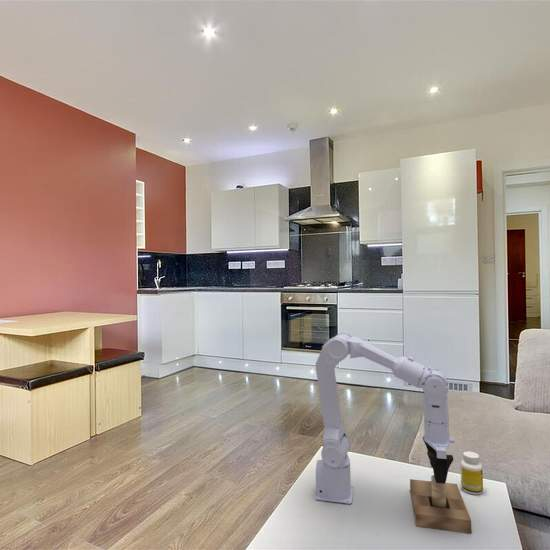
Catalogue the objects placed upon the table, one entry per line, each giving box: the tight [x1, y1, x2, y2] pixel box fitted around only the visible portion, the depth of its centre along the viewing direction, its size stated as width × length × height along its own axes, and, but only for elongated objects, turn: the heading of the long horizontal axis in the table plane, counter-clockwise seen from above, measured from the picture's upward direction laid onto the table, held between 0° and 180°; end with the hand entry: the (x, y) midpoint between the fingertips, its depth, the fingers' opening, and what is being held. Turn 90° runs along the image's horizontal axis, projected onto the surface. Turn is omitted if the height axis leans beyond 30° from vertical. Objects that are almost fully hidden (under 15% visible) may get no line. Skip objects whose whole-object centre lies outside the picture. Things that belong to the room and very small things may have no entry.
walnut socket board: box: [409, 478, 472, 534], centre depth 97 cm, size 12×16×3 cm
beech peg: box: [430, 474, 446, 508], centre depth 95 cm, size 3×3×9 cm
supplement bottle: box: [460, 451, 484, 496], centre depth 105 cm, size 5×5×10 cm
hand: (437, 474), depth 95 cm, fingers open, 7 cm apart
